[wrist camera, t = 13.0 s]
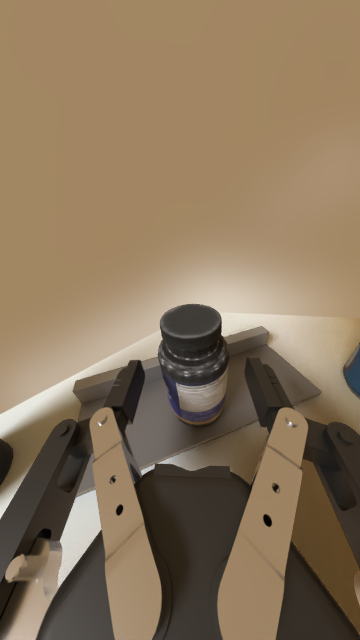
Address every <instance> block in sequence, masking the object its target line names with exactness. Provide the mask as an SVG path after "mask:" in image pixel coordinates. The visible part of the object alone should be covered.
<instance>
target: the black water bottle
mask: <svg viewBox="0 0 360 640" xmlns="http://www.w3.org/2000/svg"><path fill="white" fill-rule="evenodd" d="M12 459H13V450H12V447H11V446H10V445H9V444H8V443H6V442H5V441H3V440H1V439H0V485H1V483H2V481H3V480H4V478H5V476H6V474H7V472H8V471H9V469H10V465H11V462H12Z"/></svg>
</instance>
